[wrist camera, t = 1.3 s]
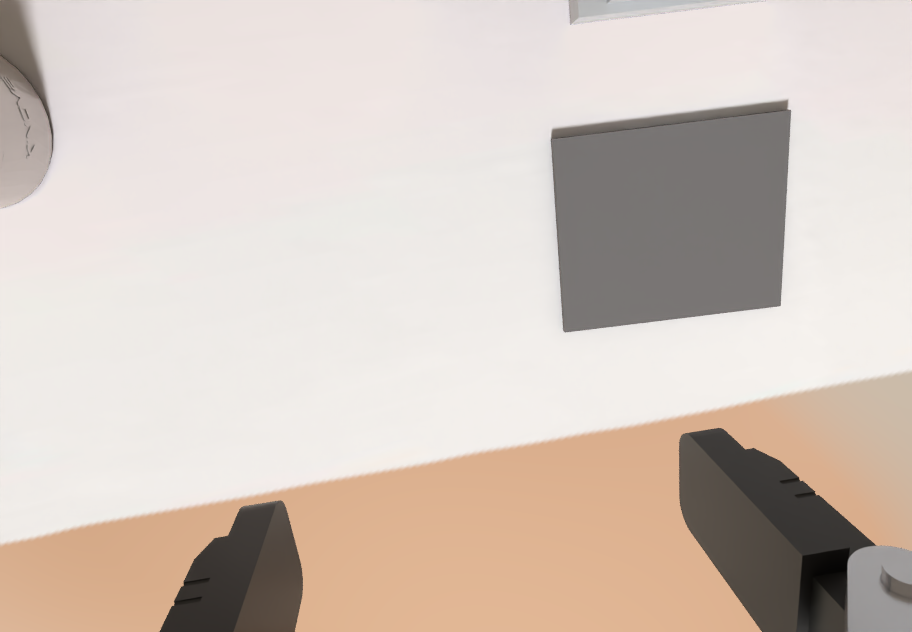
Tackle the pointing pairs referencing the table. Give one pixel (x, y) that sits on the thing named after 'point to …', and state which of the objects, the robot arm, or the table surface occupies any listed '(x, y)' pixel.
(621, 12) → the stand
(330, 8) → the table surface
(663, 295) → the mat
